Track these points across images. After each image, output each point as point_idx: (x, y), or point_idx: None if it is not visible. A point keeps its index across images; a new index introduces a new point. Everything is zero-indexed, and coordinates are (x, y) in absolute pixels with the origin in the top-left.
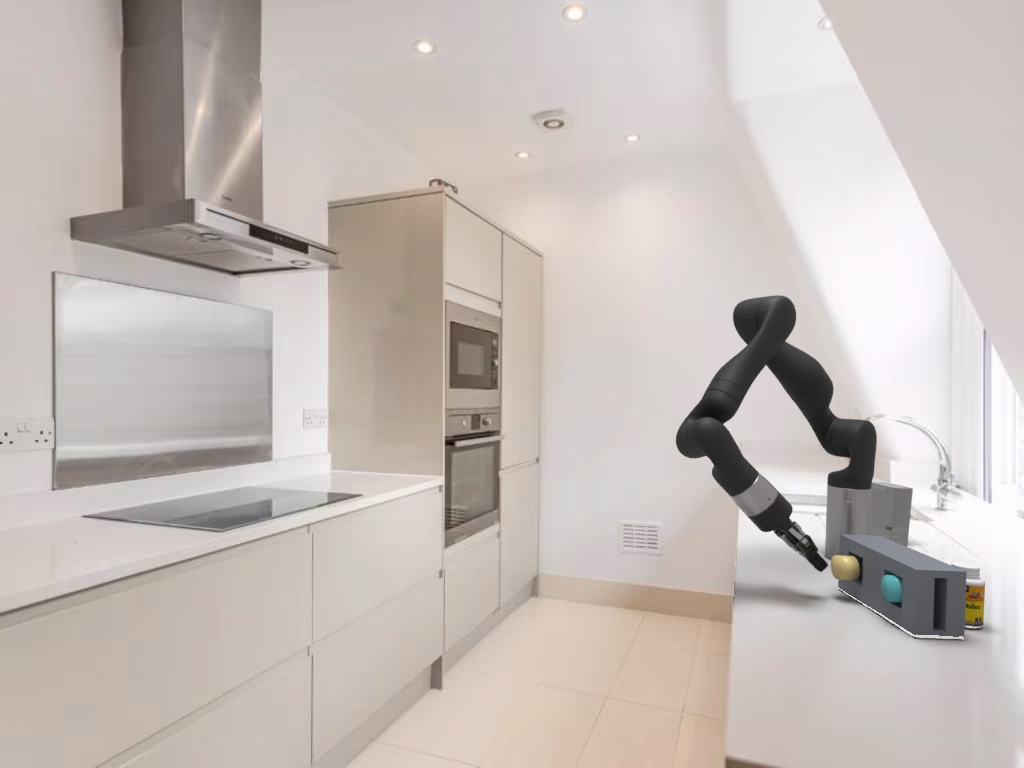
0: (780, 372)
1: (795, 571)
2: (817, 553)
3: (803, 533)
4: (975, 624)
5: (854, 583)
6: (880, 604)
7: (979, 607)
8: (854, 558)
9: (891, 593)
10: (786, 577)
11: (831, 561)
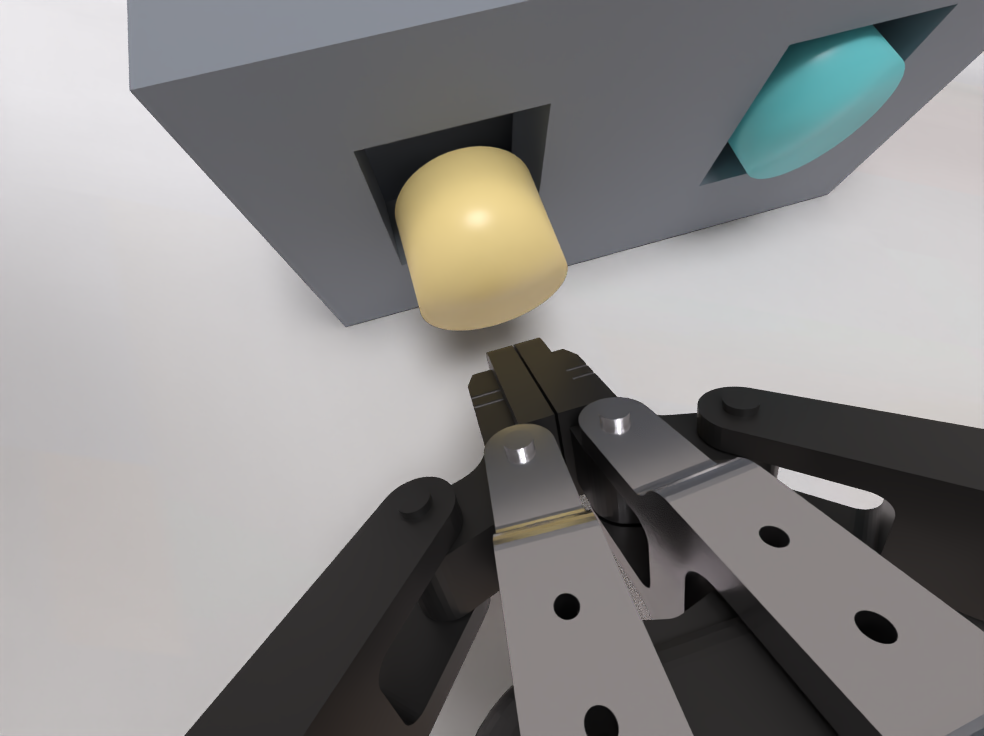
0: None
1: (75, 477)
2: (578, 392)
3: (902, 595)
4: None
5: None
6: (667, 213)
7: None
8: (493, 155)
9: (831, 134)
10: (202, 543)
11: (428, 303)
